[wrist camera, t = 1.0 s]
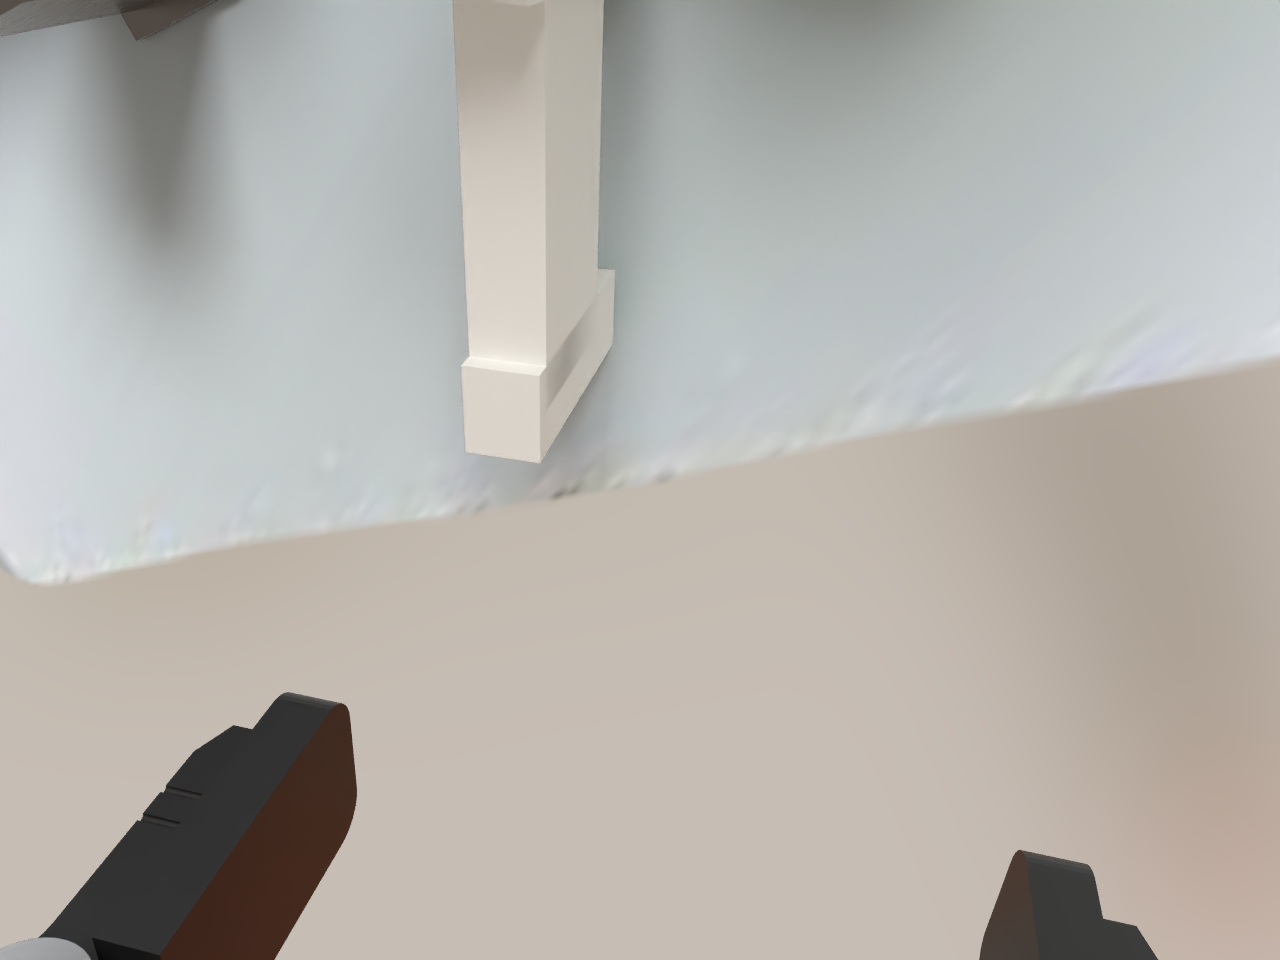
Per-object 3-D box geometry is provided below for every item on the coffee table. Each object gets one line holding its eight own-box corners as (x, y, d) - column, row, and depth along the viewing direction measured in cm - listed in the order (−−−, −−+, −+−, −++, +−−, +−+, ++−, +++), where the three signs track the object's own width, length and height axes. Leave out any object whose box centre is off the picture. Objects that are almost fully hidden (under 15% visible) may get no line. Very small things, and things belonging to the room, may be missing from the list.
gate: (543, -97, 24) (405, -81, 18) (635, -92, 24) (529, -74, 17) (545, 335, 30) (441, 471, 23) (619, 345, 30) (535, 486, 23)
